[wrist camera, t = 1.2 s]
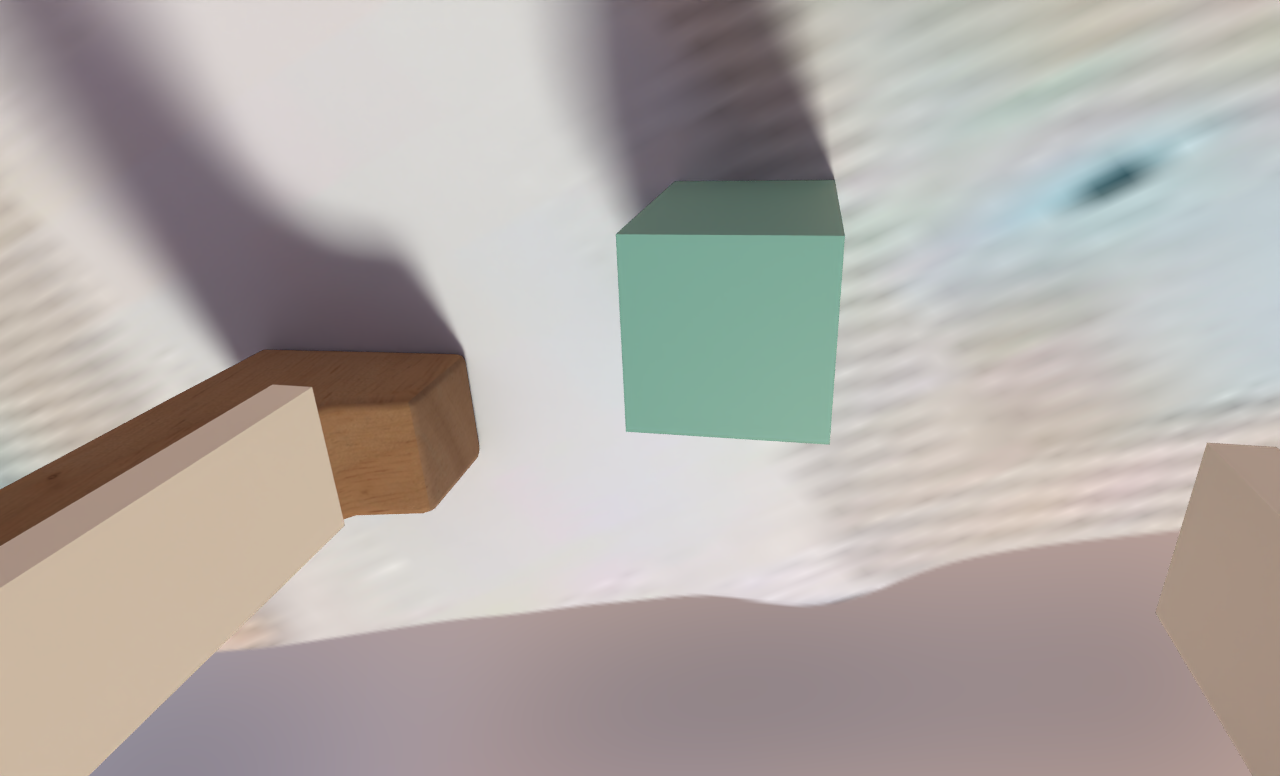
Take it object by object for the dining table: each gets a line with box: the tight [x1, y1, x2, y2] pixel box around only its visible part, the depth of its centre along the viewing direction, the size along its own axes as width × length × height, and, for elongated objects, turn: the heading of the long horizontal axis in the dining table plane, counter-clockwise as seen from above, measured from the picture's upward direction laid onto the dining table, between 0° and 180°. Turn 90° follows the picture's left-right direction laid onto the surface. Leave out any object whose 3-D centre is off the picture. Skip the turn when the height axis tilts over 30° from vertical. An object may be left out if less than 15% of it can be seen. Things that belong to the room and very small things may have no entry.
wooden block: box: [0, 350, 479, 546], centre depth 22 cm, size 9×4×18 cm, turn 94°
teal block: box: [616, 180, 845, 445], centre depth 21 cm, size 5×5×8 cm
